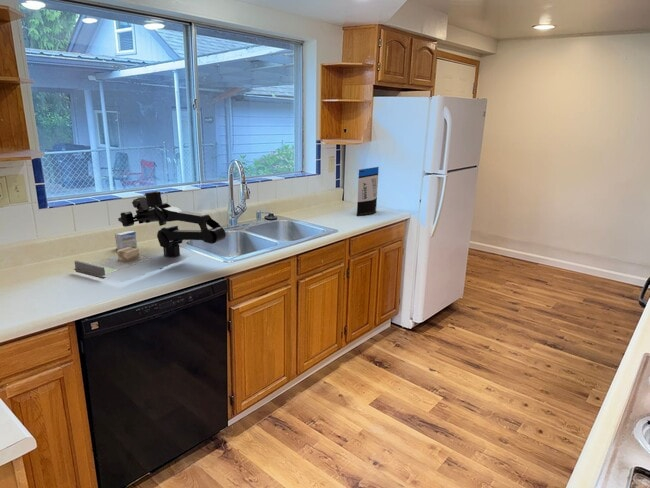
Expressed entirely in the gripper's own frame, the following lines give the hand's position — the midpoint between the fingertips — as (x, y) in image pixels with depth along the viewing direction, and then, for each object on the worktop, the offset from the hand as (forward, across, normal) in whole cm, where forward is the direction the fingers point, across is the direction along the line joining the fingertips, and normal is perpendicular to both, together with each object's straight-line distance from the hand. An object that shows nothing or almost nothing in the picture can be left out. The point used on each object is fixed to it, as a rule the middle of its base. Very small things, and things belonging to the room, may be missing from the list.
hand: (126, 218), depth 202 cm
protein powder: (-67, -134, +22) cm, 152 cm away
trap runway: (-9, +18, +18) cm, 28 cm away
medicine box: (+4, 0, +15) cm, 16 cm away
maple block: (-10, +12, +17) cm, 22 cm away
